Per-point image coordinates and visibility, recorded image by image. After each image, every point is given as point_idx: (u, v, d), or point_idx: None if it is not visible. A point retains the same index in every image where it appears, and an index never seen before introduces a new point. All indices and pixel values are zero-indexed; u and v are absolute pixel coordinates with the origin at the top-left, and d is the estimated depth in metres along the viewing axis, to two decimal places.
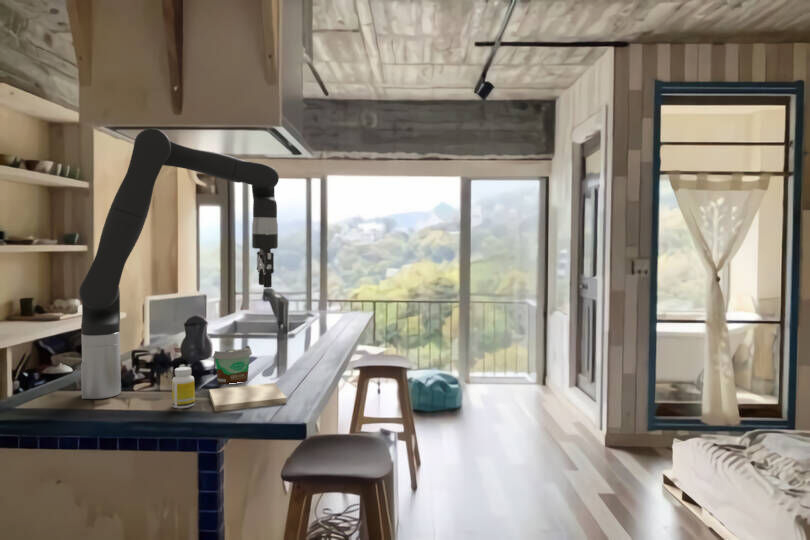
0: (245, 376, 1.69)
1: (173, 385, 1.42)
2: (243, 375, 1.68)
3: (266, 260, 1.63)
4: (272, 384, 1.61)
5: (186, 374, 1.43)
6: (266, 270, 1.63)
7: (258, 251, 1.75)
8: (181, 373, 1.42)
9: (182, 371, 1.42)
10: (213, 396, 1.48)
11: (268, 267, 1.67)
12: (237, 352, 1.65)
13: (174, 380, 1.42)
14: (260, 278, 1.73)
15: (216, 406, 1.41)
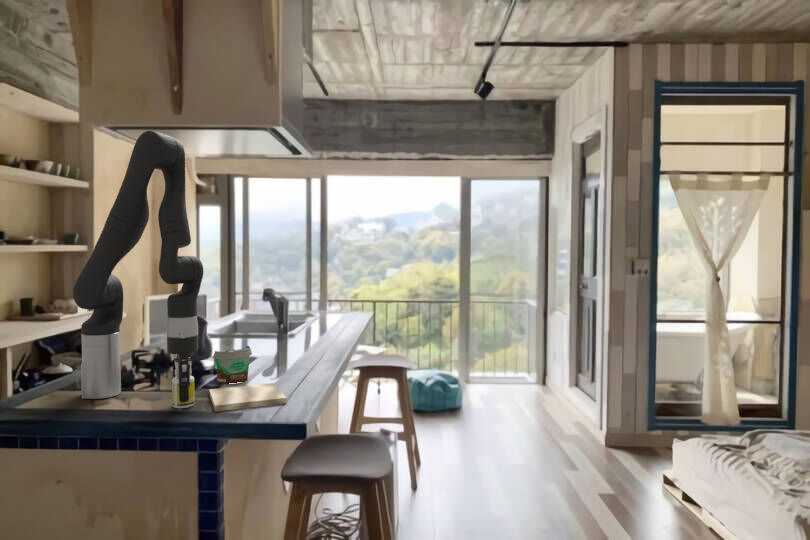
0: (245, 376, 1.69)
1: (173, 385, 1.42)
2: (243, 375, 1.68)
3: (180, 374, 1.38)
4: (272, 384, 1.61)
5: None
6: (180, 384, 1.39)
7: (178, 354, 1.49)
8: None
9: None
10: (213, 396, 1.48)
11: None
12: (237, 352, 1.65)
13: (174, 380, 1.42)
14: None
15: (216, 406, 1.41)
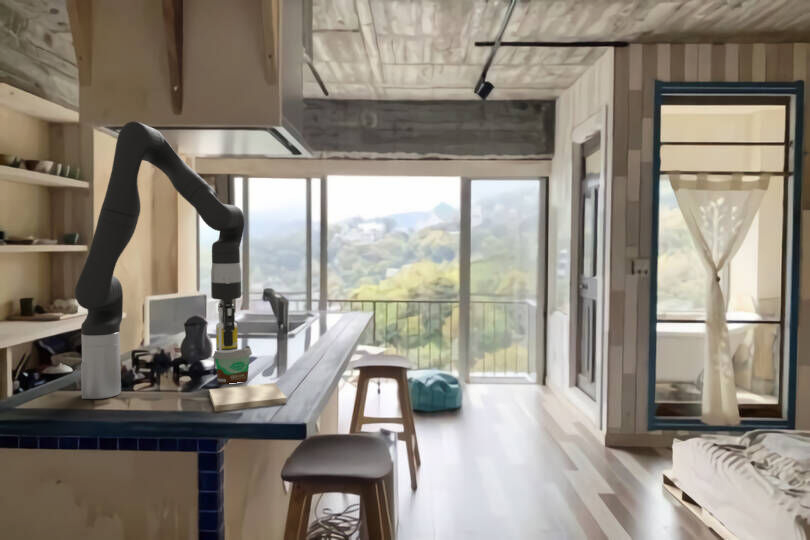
0: (245, 376, 1.69)
1: (217, 330, 1.46)
2: (243, 375, 1.68)
3: (226, 317, 1.42)
4: (272, 384, 1.61)
5: None
6: (225, 328, 1.42)
7: None
8: None
9: None
10: (213, 396, 1.48)
11: (229, 322, 1.45)
12: (237, 352, 1.65)
13: (218, 325, 1.46)
14: None
15: (216, 406, 1.41)
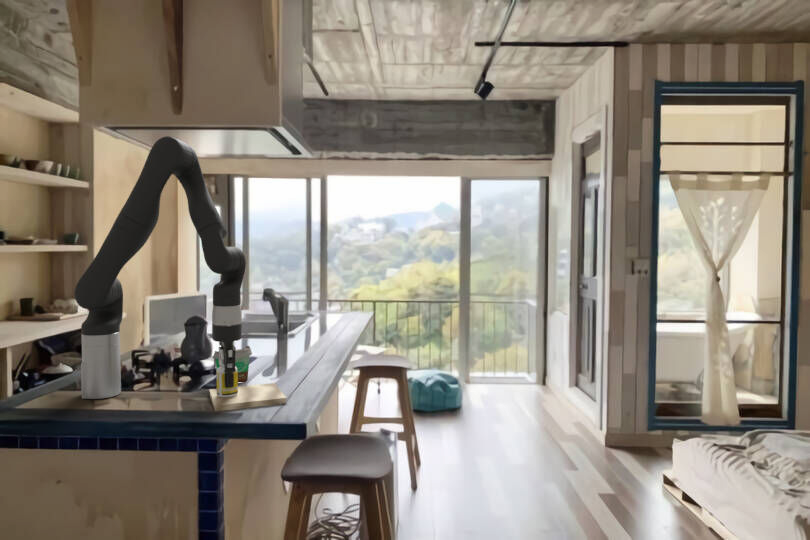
0: (245, 376, 1.69)
1: (218, 375, 1.47)
2: (243, 375, 1.68)
3: (227, 359, 1.42)
4: (272, 384, 1.61)
5: None
6: (226, 370, 1.43)
7: None
8: None
9: None
10: (213, 396, 1.48)
11: (230, 364, 1.46)
12: (237, 352, 1.65)
13: (219, 370, 1.47)
14: None
15: (216, 406, 1.41)
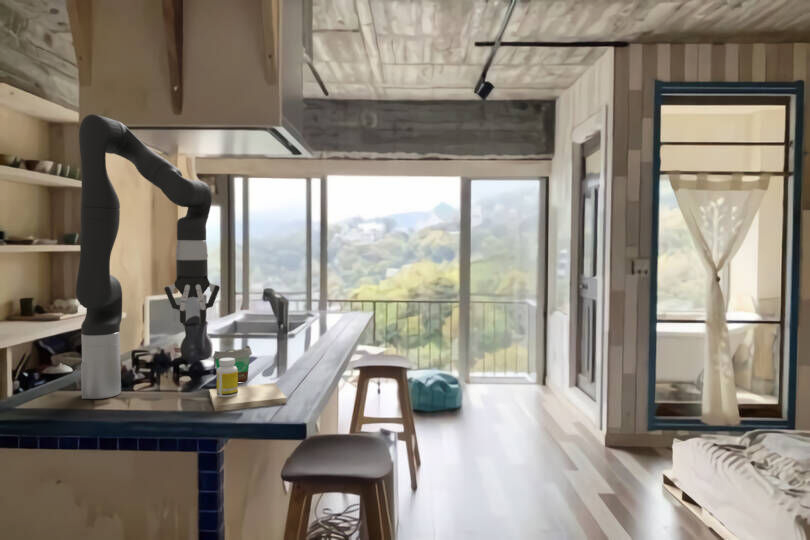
0: (245, 376, 1.69)
1: (218, 375, 1.47)
2: (243, 375, 1.68)
3: None
4: (272, 384, 1.61)
5: (230, 364, 1.48)
6: None
7: None
8: (226, 363, 1.47)
9: (226, 361, 1.47)
10: (213, 396, 1.48)
11: None
12: (237, 352, 1.65)
13: (219, 370, 1.47)
14: None
15: (216, 406, 1.41)
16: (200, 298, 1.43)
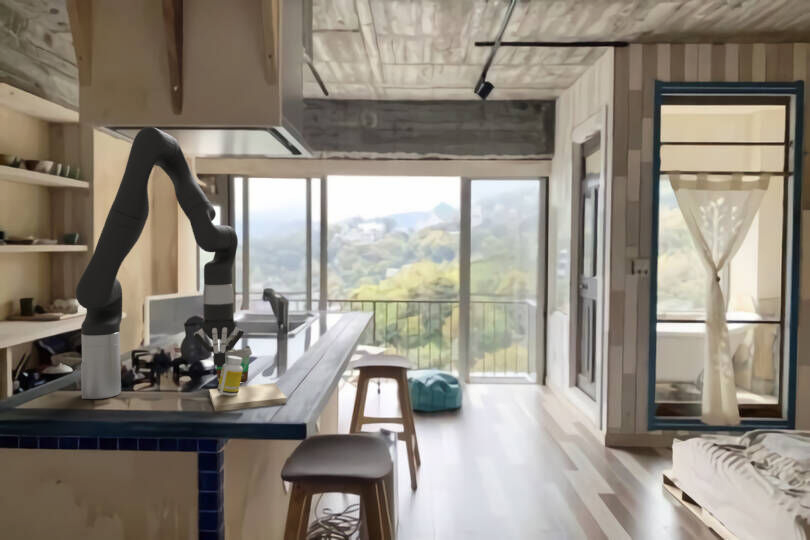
0: (245, 376, 1.69)
1: (223, 371, 1.47)
2: (243, 375, 1.68)
3: None
4: (272, 384, 1.61)
5: (237, 363, 1.48)
6: None
7: None
8: (233, 361, 1.48)
9: (234, 359, 1.48)
10: (213, 396, 1.48)
11: None
12: (237, 352, 1.65)
13: (225, 367, 1.47)
14: None
15: (216, 406, 1.41)
16: (223, 341, 1.46)
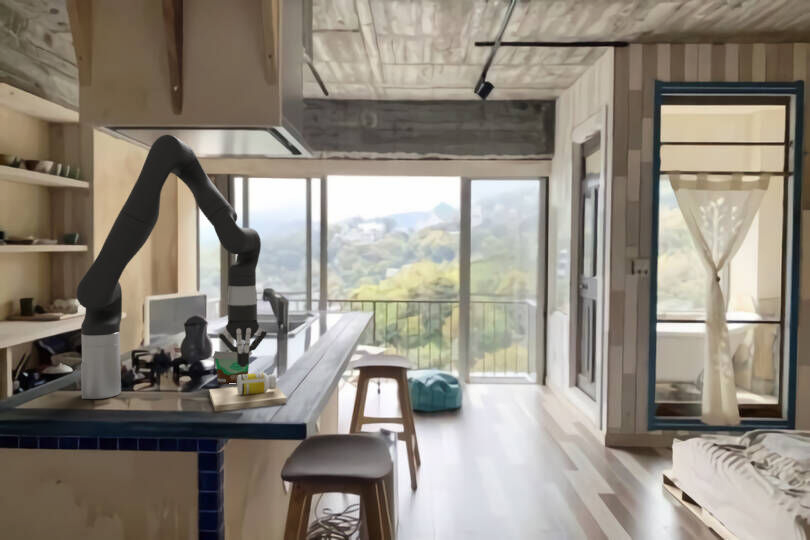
0: None
1: (261, 377, 1.50)
2: None
3: None
4: None
5: (271, 387, 1.52)
6: None
7: (264, 330, 1.53)
8: (273, 384, 1.51)
9: (274, 384, 1.52)
10: (213, 396, 1.48)
11: None
12: None
13: (266, 378, 1.51)
14: None
15: (216, 406, 1.41)
16: (247, 341, 1.49)
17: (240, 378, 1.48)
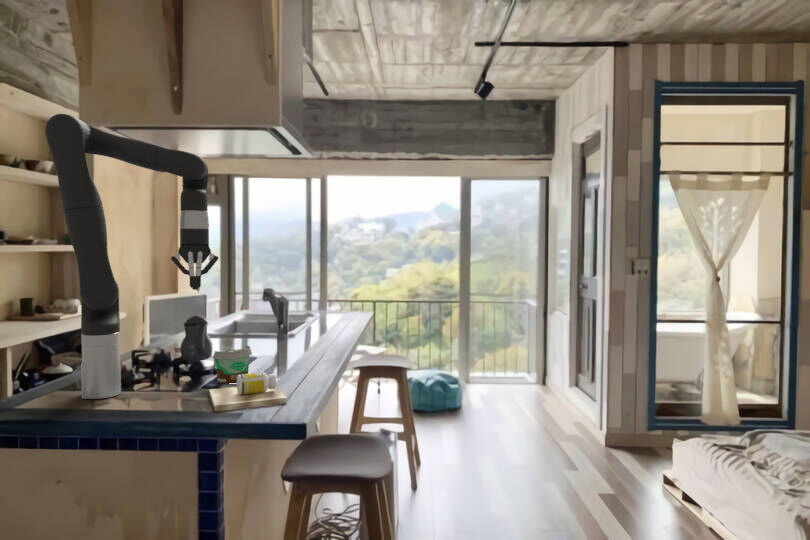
0: None
1: (260, 376, 1.51)
2: None
3: None
4: None
5: (271, 386, 1.52)
6: None
7: None
8: (272, 382, 1.52)
9: (274, 383, 1.52)
10: (213, 396, 1.48)
11: None
12: (237, 352, 1.65)
13: (266, 376, 1.51)
14: None
15: (216, 406, 1.41)
16: (198, 264, 1.55)
17: (240, 377, 1.49)
